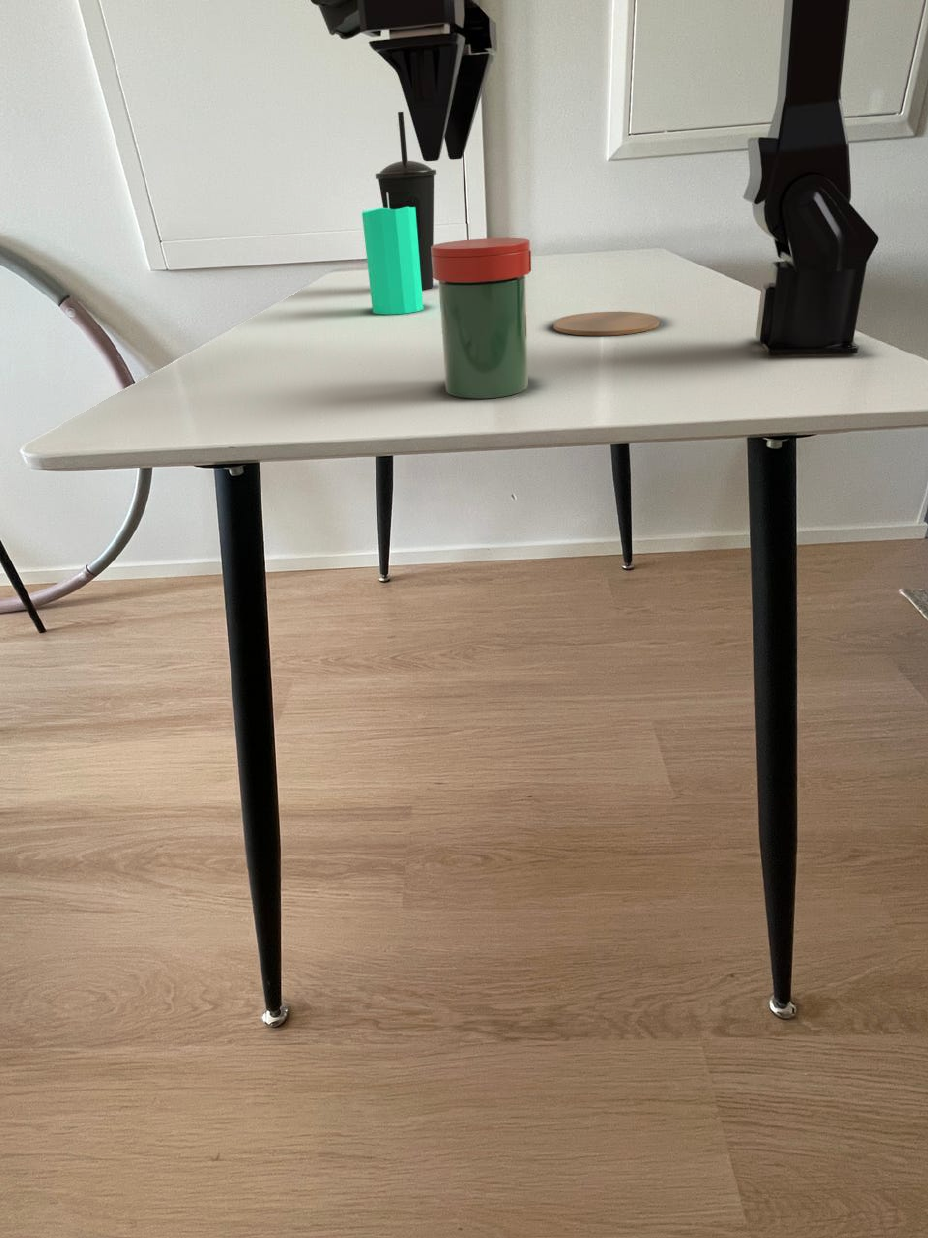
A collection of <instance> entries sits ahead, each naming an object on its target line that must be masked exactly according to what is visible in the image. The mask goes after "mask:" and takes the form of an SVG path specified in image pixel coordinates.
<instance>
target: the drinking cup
mask: <svg viewBox="0 0 928 1238" xmlns="http://www.w3.org/2000/svg"><path fill="white" fill-rule="evenodd" d="M404 112H405V111H398V112H397V117H398V127H399V129H398V130H399V141H400V151H401V161H396V162H393V163H391V164H388V165H387V166H385V167H383V169H381V171H380V172H377V173H375V179H376V180H377V181H378V187H379V192H380V198H381V205H382V207H383V208H388V203H387V192H388V200H389V209H399V208H404V207H415V211H416V223H417V235H418V248H419V260H420V272H421V285H422V291H425V290H430V289H433V288H434V278H433V267H432V253H431V246H433V245H435V244H434V240H435V239H434V238H435V237H434V236H435V235H434V234H435V176H436V175H437V170H436V169H432V168H431V167H430V166H428V165H427V164H425V163H422V162H419V161H416V160H415V161H414V160H408V149H407V137H406V126H405V113H404Z"/></svg>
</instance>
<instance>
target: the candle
mask: <svg viewBox="0 0 928 1238" xmlns="http://www.w3.org/2000/svg"><path fill="white" fill-rule="evenodd" d="M387 203H388V208H383V206H382V207H377V208H372V209H367V210H362V211H361V216H362V217H361V218H362V224H363V225H362V226H363V227H362V228H363V235H364V236H363V237H364V243H365V245H364V246H365V251H366V252H365V253H366V261H367V269H368V279H369V289H370V297H371V298H370V299H371V308H372V313H373V314H376V315H389V316H390V315H403V314H411V313H417V312H419V311H422V310H424V298H423V297H424V296H423V290H422V285H421V272H420V260H419V248H418V235H417V223H416V211H415V207H404V208H399V209H389V200H388V192H387Z"/></svg>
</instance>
